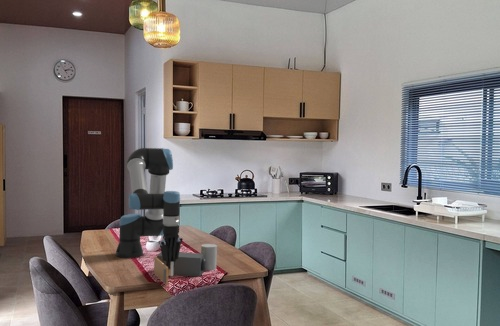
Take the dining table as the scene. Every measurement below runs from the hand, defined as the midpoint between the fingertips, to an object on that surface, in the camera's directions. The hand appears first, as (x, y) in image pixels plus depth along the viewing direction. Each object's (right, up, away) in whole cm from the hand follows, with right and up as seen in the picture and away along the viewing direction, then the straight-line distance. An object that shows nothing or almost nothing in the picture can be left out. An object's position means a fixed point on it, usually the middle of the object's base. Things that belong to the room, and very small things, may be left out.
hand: (170, 275), depth 218 cm
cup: (+15, -3, +28) cm, 32 cm away
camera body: (+2, -3, +18) cm, 18 cm away
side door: (-6, -3, +4) cm, 7 cm away
